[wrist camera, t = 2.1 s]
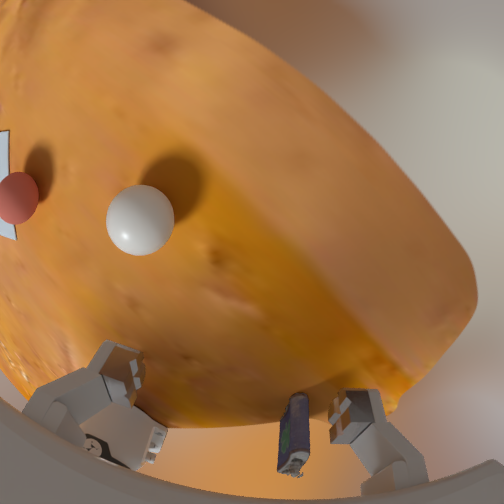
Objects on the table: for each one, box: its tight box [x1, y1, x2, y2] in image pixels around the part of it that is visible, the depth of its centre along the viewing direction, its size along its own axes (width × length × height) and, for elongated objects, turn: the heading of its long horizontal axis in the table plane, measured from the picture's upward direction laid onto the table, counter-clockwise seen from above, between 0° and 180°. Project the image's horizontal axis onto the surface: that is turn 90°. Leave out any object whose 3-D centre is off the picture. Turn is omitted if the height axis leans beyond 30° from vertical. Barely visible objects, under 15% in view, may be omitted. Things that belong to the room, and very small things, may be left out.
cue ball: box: [106, 185, 174, 255], centre depth 20 cm, size 6×6×6 cm
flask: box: [277, 393, 310, 478], centre depth 29 cm, size 9×3×11 cm, turn 172°
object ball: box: [0, 172, 39, 225], centre depth 20 cm, size 6×6×6 cm
